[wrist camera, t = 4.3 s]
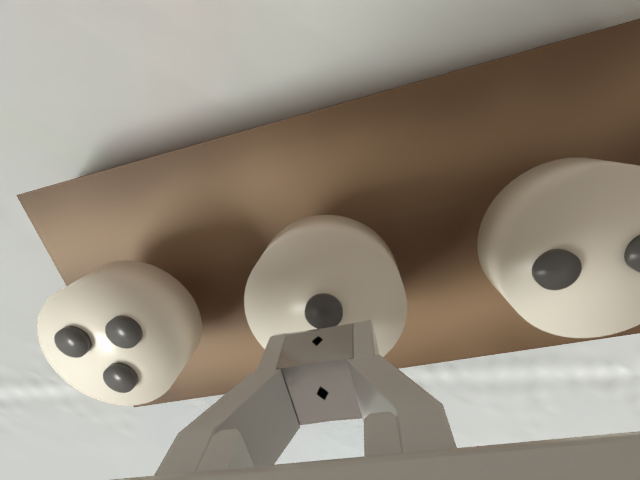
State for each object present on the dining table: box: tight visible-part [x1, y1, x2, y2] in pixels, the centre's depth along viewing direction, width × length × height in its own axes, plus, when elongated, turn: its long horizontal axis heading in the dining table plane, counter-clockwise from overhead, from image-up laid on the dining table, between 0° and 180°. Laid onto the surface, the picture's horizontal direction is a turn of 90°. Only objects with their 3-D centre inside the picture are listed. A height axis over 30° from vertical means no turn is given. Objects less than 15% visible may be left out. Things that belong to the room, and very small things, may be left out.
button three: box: [37, 260, 202, 406], centre depth 13 cm, size 5×5×2 cm
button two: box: [477, 157, 640, 338], centre depth 10 cm, size 5×5×2 cm
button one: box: [244, 215, 407, 357], centre depth 11 cm, size 5×5×2 cm
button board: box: [17, 19, 640, 407], centre depth 15 cm, size 12×25×3 cm, turn 105°
